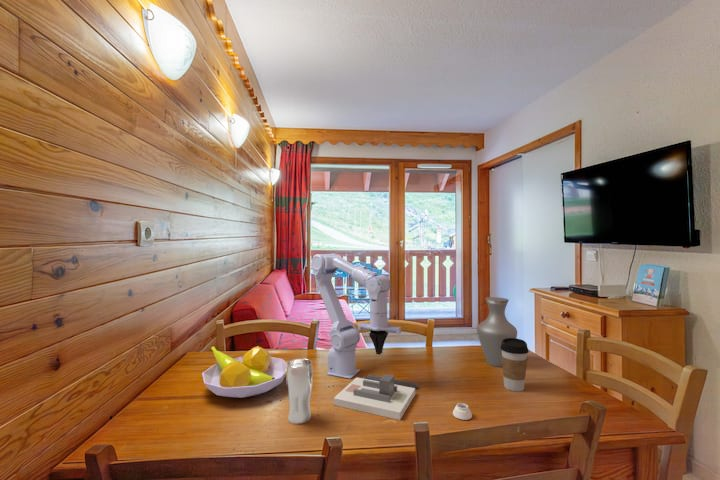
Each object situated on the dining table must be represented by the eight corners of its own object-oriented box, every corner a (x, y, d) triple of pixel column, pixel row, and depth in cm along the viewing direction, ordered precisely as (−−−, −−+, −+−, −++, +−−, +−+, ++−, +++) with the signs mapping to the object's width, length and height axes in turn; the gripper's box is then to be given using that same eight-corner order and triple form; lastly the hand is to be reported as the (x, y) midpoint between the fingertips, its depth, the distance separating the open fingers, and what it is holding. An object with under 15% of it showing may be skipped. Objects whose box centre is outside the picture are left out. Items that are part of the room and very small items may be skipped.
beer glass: (317, 413, 94) (317, 359, 94) (304, 427, 88) (304, 369, 88) (294, 409, 97) (294, 356, 96) (281, 422, 90) (281, 365, 90)
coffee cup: (528, 384, 113) (528, 339, 113) (528, 395, 106) (529, 347, 105) (500, 380, 117) (500, 336, 116) (499, 390, 109) (499, 343, 109)
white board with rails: (333, 404, 99) (333, 392, 99) (362, 377, 119) (362, 367, 119) (399, 420, 91) (399, 407, 91) (419, 387, 111) (419, 376, 111)
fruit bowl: (305, 386, 112) (305, 351, 112) (224, 418, 92) (224, 376, 92) (259, 364, 131) (259, 334, 131) (184, 387, 111) (184, 352, 111)
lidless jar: (459, 422, 91) (475, 419, 92) (459, 411, 90) (475, 408, 92) (449, 413, 95) (464, 410, 97) (449, 402, 95) (464, 400, 97)
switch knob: (379, 397, 100) (379, 380, 100) (384, 390, 104) (384, 373, 104) (389, 399, 98) (389, 381, 98) (394, 392, 103) (394, 375, 103)
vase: (482, 354, 142) (483, 294, 142) (520, 362, 133) (521, 298, 133) (471, 365, 130) (472, 299, 130) (512, 374, 122) (512, 304, 121)
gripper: (353, 312, 112) (354, 354, 112) (396, 316, 106) (396, 360, 106) (362, 308, 118) (362, 348, 118) (402, 312, 112) (403, 353, 113)
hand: (379, 353), depth 113 cm, fingers closed
